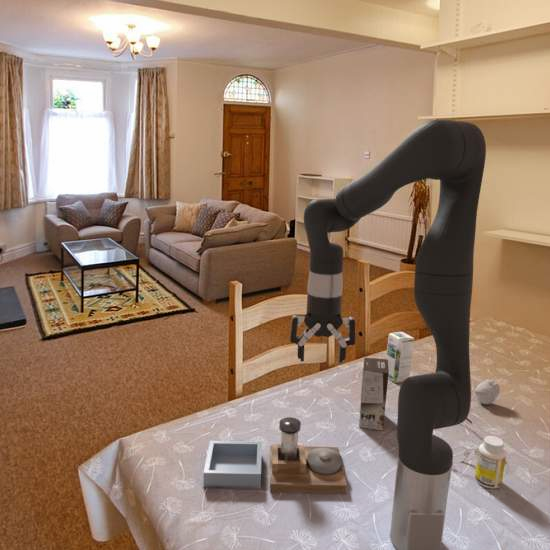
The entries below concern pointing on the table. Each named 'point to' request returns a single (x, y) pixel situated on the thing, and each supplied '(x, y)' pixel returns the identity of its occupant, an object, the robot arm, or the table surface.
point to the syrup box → (399, 356)
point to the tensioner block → (308, 471)
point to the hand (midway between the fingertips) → (321, 360)
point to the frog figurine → (487, 391)
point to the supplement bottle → (490, 462)
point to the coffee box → (373, 393)
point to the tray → (233, 465)
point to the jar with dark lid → (289, 438)
